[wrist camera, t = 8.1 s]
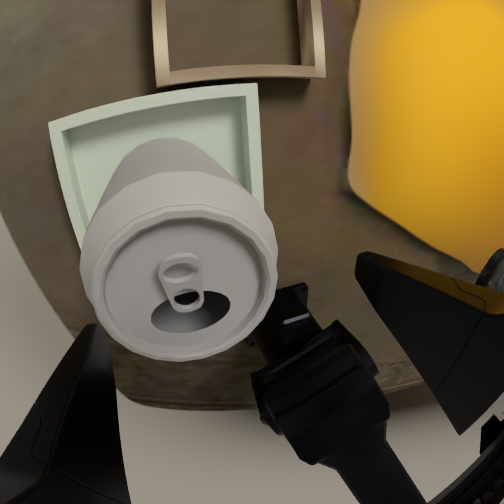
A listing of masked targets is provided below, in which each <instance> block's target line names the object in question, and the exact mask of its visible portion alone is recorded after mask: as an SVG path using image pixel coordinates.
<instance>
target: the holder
mask: <svg viewBox="0 0 504 504" xmlns="http://www.w3.org/2000/svg"><path fill="white" fill-rule="evenodd" d="M297 11H298V23H299V36H300V52H301V66H299V65H231V66H216V67H204V68H194V69H186V70H178V71H171V72H169V60H168V46H167V29H166V7H165V0H151V12H152V35H153V51H154V64H155V76H156V87H157V88H162V87H168V86H174V85H181V84H189V83H197V82H206V81H216V80H229V79H247V78H307V79H315V78H326V71H325V51H324V36H323V23H322V12H321V2H320V0H297Z"/></svg>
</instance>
